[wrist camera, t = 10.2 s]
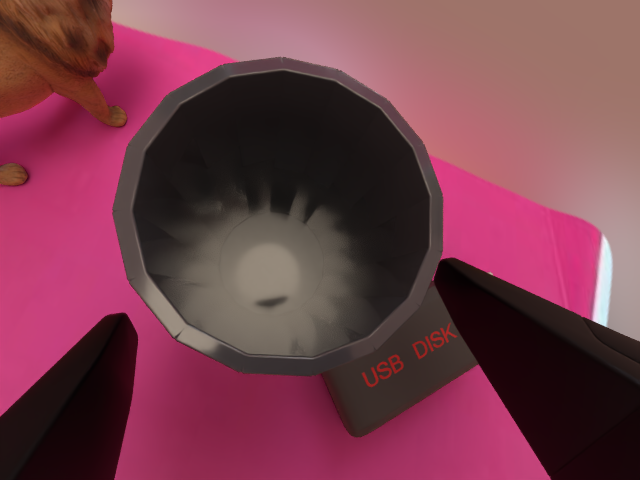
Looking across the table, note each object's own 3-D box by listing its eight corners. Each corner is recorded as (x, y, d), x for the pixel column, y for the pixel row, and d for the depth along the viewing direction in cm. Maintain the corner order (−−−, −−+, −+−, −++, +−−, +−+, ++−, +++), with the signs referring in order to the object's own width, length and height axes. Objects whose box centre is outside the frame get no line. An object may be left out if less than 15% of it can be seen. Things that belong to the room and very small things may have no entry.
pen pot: (321, 323, 18) (442, 382, 6) (207, 315, 17) (74, 367, 5) (330, 217, 19) (444, 92, 7) (224, 203, 18) (153, 26, 6)
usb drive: (307, 342, 18) (315, 350, 15) (463, 261, 21) (493, 256, 18) (343, 426, 17) (359, 450, 15) (498, 331, 20) (533, 337, 18)
